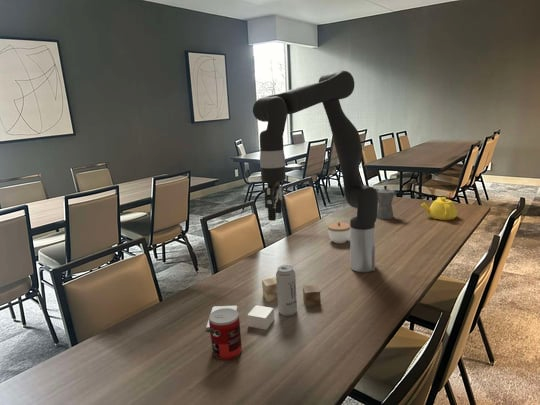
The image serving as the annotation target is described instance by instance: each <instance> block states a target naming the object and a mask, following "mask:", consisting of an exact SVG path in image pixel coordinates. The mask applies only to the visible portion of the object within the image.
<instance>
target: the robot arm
mask: <svg viewBox="0 0 540 405" xmlns="http://www.w3.org/2000/svg"><path fill="white" fill-rule="evenodd" d="M354 89H355V79H354V76H353V75H352V73H350V72H349V71H348V70H336V71H332V72H328V73H324V74H322V75H321V76H320V77H319V79H318V82H314V83H311V84H306V85H302V86H297V87H295V88H292V89H289V90H286V91H284V92H281V93H275V94H271V95H266V96H263V97H261V98H258V99H257V100H256V101H255V102H254V104H253V107H252V114H253V117H255V119H256V120H257V121H260V122H265V123H267V126H266V129H264V130H263V131H261V132H260V134H259V149H260V150H259V151H260V152H259V154H260V155H259V163H260V166H259V167H260V180H261V182H264V183H267V187H265V188H264V208H265V209H267V218H268V221H271V222H272V221H274V222H275V221H276V219H277V217H276V216H277V214H281V213H282V209H283V208H282V201H283V198H284V189H283V181H285V180H286V158H285V156H286V155H285V151H284V150H285V149H284V148H285V147H284V133H285V129H286V123H287V119H288V115H293V114H296V113H299V112H301V111H303V110H306V109H308V108H311V107H313V106H315V105H319V104H321V103H322V105H323V108H324V111H325V114H326V117H327V120H328V124H329V127H330V130H331V134H332V139H333V144H334V148H335V151H336V154H337V158H338V162H339V167H340V171H341V176H342V181H343V189H344V196H345V200H346V202H347V204H348V205H349V206H350V207H352V208H355V209H356V211H357V212H356V215H355V216H353V217H352V218H350V221H349V224H350V237H349V239H350V240H349V241H350V242H349V245H350V248H349V249H350V251H349V252H350V253H349V254H350V260H349V261H350V263H349V264H350V269H351V270H353V271H355V272H357V273H358V272H359V273H368V272H369V273H370V272H375V271H376V245H375V243H376V242H375V240H376V239H375V238H376V235H375V234H376V233H375V232H376V230H375V229H376V228H375V227H376V221H377V219H378V218H377V213H378V207H379V203H378V195H377V192H376V190H375V189H376V188H375V187H372V186H369V185H365V184H363V183H362V179H361V175H360V164H361V160H362V155H363V146H362V145H363V144H362V141H361V137H360V133H359V131H358V129H357V127H356V126H355V124H354V123H353V122H351V120H350V119H349V118H348V117H347V115H346V114H345V112H344V110H343V108H342V105H341V102H340V100H343V99H346V98H348V97H350V96H351V95H352V94H353V92H354Z"/></svg>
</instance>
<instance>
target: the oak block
mask: <svg viewBox="0 0 540 405" xmlns="http://www.w3.org/2000/svg"><path fill="white" fill-rule="evenodd" d="M261 284H262V286H261V287H262V296H263V298H264V299H265V301H266V302H267V303H269V302H273V301H278V299H277V283H276V276H275V277H271V278H265V279H261Z"/></svg>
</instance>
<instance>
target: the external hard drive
mask: <svg viewBox="0 0 540 405" xmlns="http://www.w3.org/2000/svg"><path fill="white" fill-rule="evenodd" d="M223 308H230V309H234V310H236V311H237V312H238V306H237V305H220V306H219V305H217V306H215V305H214V306H212V308H211V311H210V314H211V313H212V312H214V311H216V310H218V309H223ZM205 330H206V331H210V325H209V319H208V321H207V324H206V326H205Z"/></svg>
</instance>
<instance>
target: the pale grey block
mask: <svg viewBox="0 0 540 405" xmlns="http://www.w3.org/2000/svg"><path fill="white" fill-rule="evenodd" d="M274 320H275V309H274V307H269V306H263V305H257V304H256V305H255V306H254V307H253V308H252V309H251V310H250V312H248V314H247V326H248V327H250V328H255V329H260V330H261V329H262V330H268V328H269V327H270V326H271V325H272V323H273V321H274Z"/></svg>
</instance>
